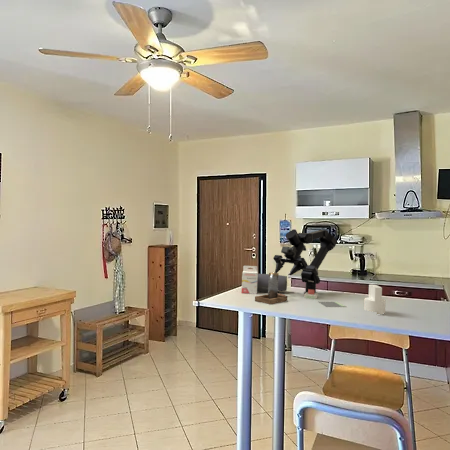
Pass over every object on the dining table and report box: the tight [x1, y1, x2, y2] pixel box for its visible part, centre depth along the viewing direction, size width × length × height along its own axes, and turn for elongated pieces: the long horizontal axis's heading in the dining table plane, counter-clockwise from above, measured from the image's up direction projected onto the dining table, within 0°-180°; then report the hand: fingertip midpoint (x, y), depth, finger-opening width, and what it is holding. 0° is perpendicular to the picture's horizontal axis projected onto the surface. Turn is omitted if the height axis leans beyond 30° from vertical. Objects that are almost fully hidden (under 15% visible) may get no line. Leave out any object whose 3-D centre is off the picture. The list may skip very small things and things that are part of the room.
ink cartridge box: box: [241, 265, 259, 295], centre depth 223 cm, size 9×5×15 cm, turn 84°
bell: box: [267, 271, 279, 299], centre depth 203 cm, size 5×5×14 cm
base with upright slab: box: [363, 284, 386, 315], centre depth 183 cm, size 9×9×12 cm
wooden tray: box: [254, 293, 288, 305], centre depth 202 cm, size 14×10×2 cm
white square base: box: [303, 292, 319, 300], centre depth 209 cm, size 6×6×3 cm
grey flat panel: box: [318, 301, 347, 308], centre depth 192 cm, size 12×10×1 cm
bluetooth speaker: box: [257, 273, 288, 293], centre depth 229 cm, size 23×9×10 cm, turn 77°
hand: (282, 273), depth 208 cm, fingers open, 9 cm apart
